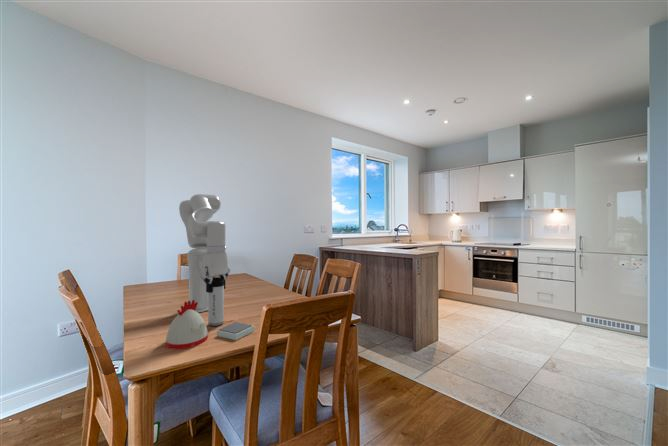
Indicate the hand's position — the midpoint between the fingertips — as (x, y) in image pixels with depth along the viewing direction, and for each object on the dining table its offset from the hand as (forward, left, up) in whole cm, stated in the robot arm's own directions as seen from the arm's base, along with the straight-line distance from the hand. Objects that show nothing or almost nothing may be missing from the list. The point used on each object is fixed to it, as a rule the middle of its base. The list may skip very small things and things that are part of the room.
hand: (215, 290), depth 122 cm
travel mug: (0, 0, -15) cm, 15 cm away
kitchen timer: (+4, -17, -15) cm, 23 cm away
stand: (+15, -4, -15) cm, 22 cm away
